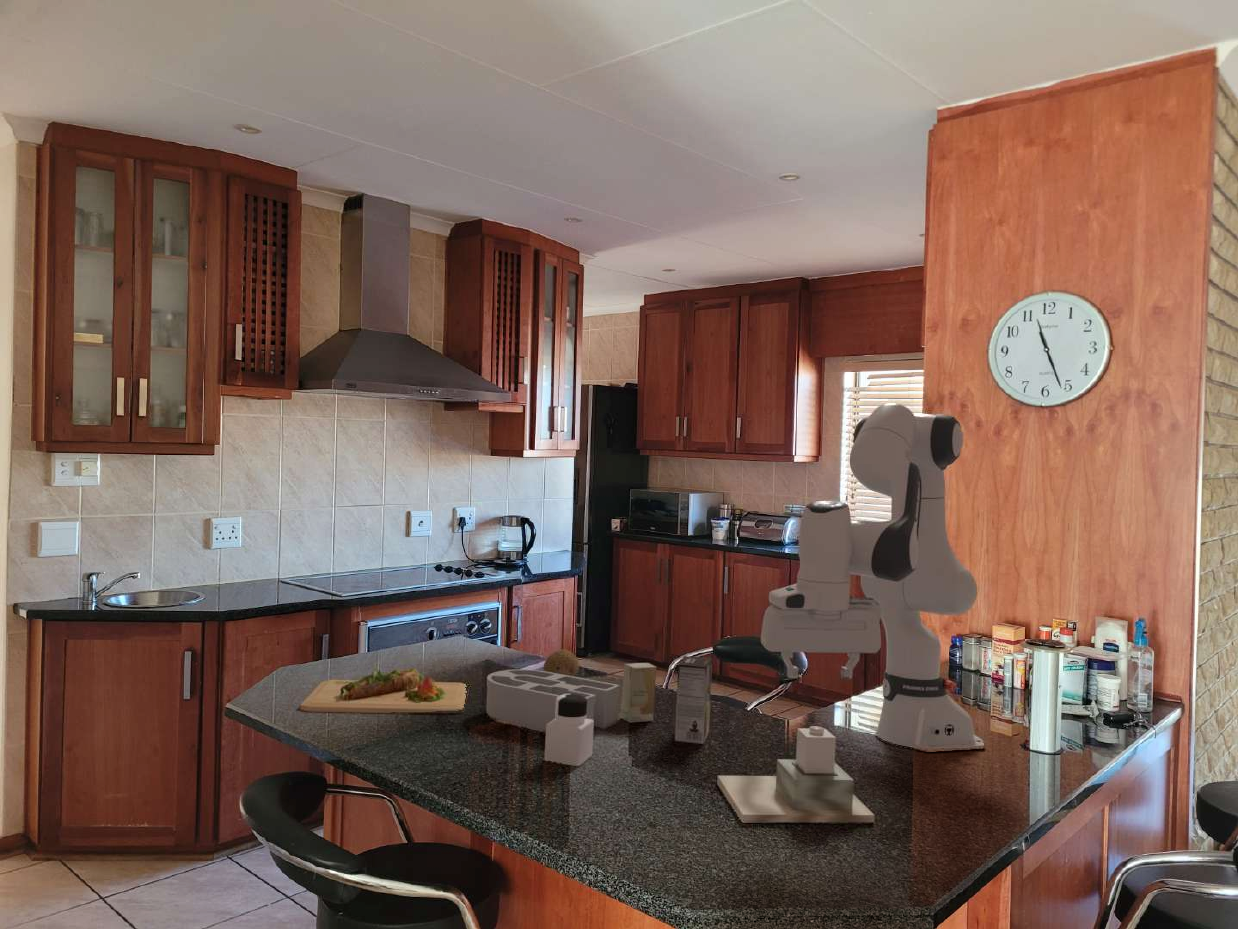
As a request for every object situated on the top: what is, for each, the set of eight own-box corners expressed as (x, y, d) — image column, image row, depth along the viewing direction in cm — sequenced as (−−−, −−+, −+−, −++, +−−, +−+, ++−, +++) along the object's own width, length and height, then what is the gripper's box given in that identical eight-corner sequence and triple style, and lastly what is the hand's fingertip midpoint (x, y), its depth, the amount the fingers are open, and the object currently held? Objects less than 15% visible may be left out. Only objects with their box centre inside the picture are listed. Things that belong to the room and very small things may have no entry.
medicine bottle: (592, 756, 175) (595, 694, 175) (579, 767, 168) (582, 702, 168) (558, 750, 177) (561, 689, 177) (543, 761, 170) (546, 697, 170)
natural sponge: (576, 695, 220) (578, 654, 220) (540, 693, 220) (542, 652, 220) (578, 686, 229) (580, 646, 229) (543, 684, 229) (545, 645, 229)
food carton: (679, 729, 196) (683, 655, 196) (709, 732, 194) (713, 657, 194) (673, 741, 187) (677, 663, 187) (704, 744, 185) (708, 666, 185)
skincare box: (629, 723, 198) (631, 667, 198) (620, 718, 202) (622, 663, 202) (654, 721, 201) (657, 666, 201) (645, 715, 205) (647, 661, 205)
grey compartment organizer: (579, 743, 183) (581, 701, 183) (469, 718, 197) (471, 679, 197) (618, 724, 198) (620, 685, 198) (514, 703, 211) (516, 666, 211)
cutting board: (468, 690, 222) (470, 660, 222) (462, 717, 199) (464, 683, 199) (322, 687, 218) (324, 656, 218) (298, 714, 195) (300, 679, 195)
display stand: (835, 784, 165) (836, 748, 165) (874, 824, 147) (876, 783, 147) (717, 784, 163) (719, 746, 163) (742, 824, 145) (744, 782, 145)
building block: (823, 763, 156) (825, 724, 156) (834, 773, 151) (836, 732, 151) (795, 763, 156) (797, 723, 156) (805, 773, 151) (807, 732, 151)
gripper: (874, 595, 158) (870, 674, 158) (760, 592, 155) (756, 672, 155) (889, 601, 151) (885, 683, 151) (770, 598, 149) (766, 682, 149)
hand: (819, 678), depth 153 cm, fingers open, 8 cm apart
